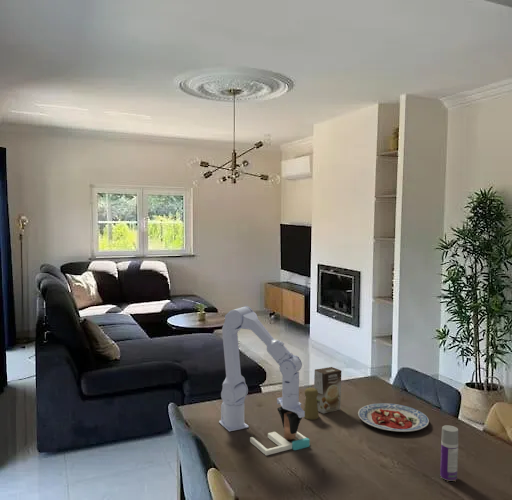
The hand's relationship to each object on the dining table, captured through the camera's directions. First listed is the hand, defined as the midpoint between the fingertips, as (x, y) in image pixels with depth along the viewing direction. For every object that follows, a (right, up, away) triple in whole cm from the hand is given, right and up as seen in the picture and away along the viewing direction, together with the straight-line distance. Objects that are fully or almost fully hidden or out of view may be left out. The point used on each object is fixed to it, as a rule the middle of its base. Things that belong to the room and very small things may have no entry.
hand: (290, 430), depth 168 cm
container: (+45, -5, -24) cm, 51 cm away
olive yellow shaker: (+10, -2, +20) cm, 22 cm away
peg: (0, -2, 0) cm, 2 cm away
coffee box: (+17, -2, +28) cm, 32 cm away
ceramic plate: (+40, -3, +17) cm, 43 cm away
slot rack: (-3, -3, -3) cm, 6 cm away
